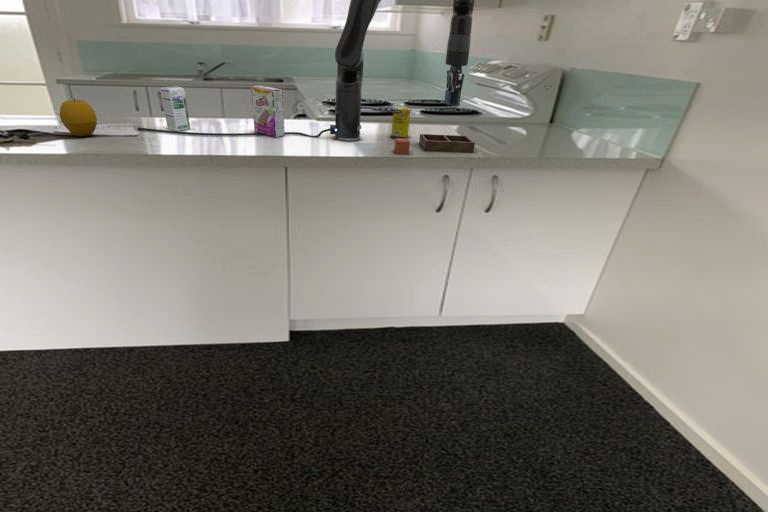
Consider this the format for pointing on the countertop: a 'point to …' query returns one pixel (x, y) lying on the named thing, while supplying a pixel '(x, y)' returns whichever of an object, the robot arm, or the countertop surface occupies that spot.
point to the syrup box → (175, 108)
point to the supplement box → (400, 122)
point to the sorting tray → (446, 143)
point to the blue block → (448, 97)
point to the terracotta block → (401, 146)
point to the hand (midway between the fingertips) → (451, 103)
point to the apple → (78, 117)
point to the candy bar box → (268, 110)
